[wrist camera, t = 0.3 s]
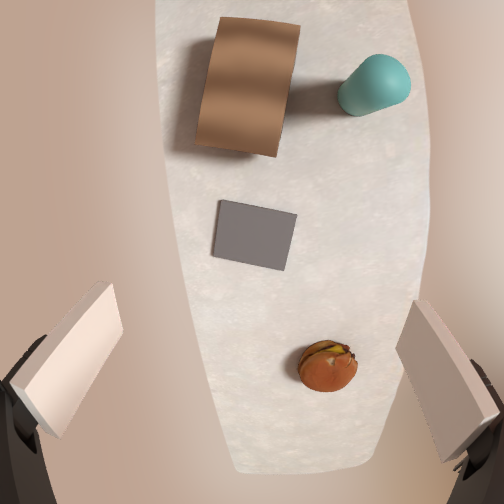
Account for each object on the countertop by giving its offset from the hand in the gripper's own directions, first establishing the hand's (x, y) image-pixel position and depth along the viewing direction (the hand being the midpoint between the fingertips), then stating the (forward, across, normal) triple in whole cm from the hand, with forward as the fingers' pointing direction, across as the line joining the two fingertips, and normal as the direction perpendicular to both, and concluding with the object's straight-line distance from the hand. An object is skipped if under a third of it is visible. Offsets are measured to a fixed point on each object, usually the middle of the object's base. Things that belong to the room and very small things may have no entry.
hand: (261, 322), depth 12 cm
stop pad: (+27, -2, -6) cm, 28 cm away
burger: (+26, +12, -27) cm, 39 cm away
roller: (+27, +11, +13) cm, 32 cm away
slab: (+28, -2, +13) cm, 31 cm away
